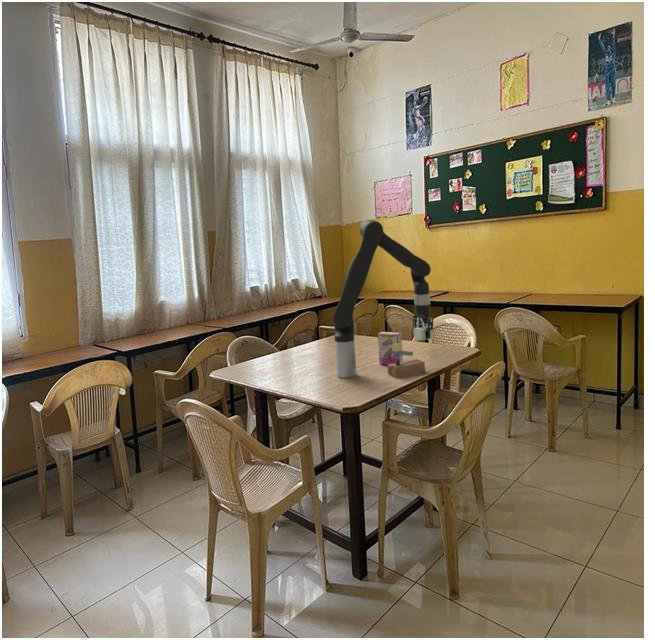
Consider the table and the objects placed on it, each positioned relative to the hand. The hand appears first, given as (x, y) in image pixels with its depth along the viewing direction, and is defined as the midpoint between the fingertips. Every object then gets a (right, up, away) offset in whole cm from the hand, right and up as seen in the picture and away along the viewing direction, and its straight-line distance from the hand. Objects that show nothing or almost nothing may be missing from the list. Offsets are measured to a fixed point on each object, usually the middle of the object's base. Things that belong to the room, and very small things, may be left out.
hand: (424, 337), depth 247 cm
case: (-10, -17, -7) cm, 21 cm away
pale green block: (0, 0, 0) cm, 0 cm away
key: (-12, -12, -12) cm, 21 cm away
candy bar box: (-15, -15, +11) cm, 23 cm away
